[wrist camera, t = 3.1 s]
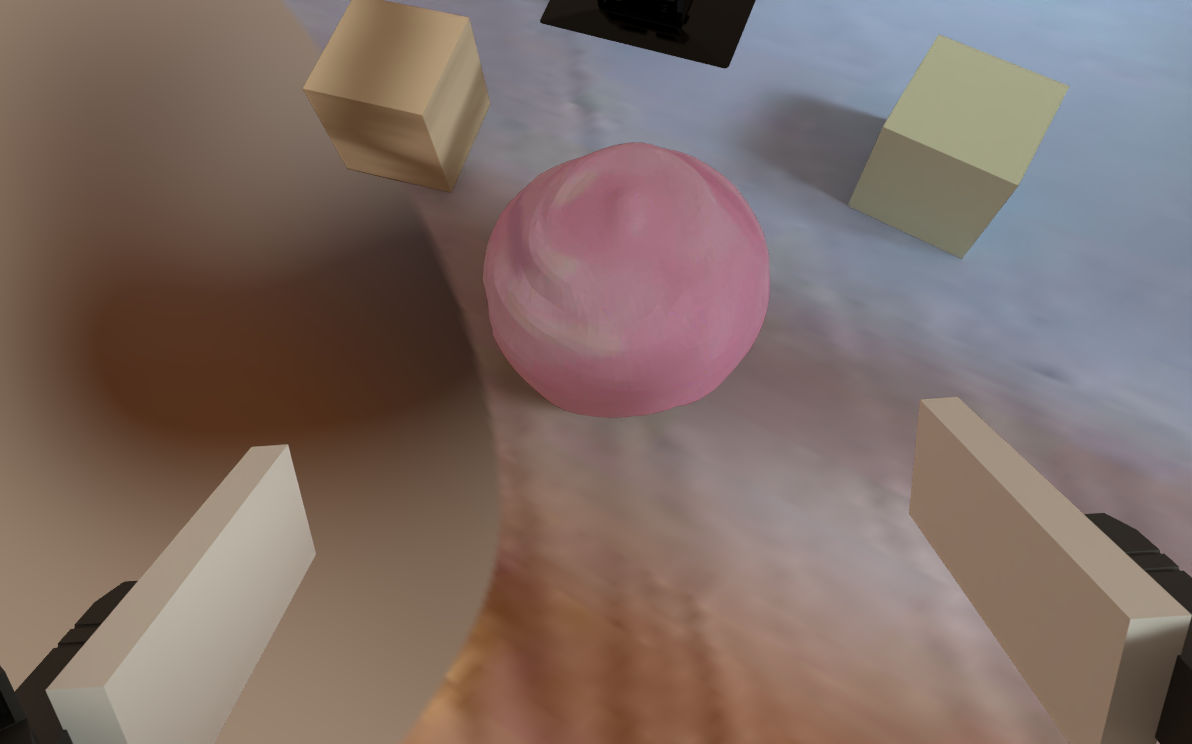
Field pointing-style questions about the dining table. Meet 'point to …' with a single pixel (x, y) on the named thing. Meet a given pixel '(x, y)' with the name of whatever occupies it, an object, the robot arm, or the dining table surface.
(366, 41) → the birch block
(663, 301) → the cupcake
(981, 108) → the sage block
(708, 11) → the black piece
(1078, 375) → the dining table surface
